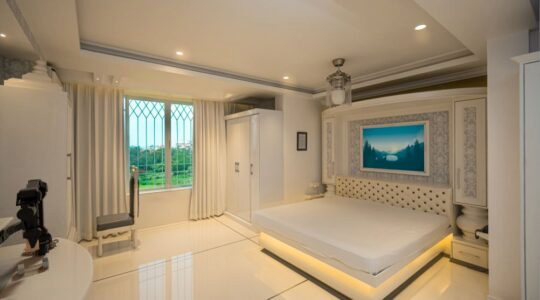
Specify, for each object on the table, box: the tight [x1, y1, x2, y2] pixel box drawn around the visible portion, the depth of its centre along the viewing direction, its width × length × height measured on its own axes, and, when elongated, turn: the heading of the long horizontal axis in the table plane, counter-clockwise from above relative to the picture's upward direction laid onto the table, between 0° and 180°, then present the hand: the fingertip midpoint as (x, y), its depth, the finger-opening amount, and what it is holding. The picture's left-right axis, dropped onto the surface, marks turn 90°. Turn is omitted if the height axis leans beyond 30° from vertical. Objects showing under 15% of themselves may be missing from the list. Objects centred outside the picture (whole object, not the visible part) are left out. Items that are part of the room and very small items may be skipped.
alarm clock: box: [23, 238, 60, 255], centre depth 144 cm, size 11×5×15 cm
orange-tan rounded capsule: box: [25, 239, 39, 253], centre depth 117 cm, size 4×4×6 cm
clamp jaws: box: [17, 256, 50, 278], centre depth 118 cm, size 6×10×4 cm, turn 137°
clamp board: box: [18, 262, 50, 280], centre depth 118 cm, size 12×10×1 cm
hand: (32, 246), depth 117 cm, fingers closed on orange-tan rounded capsule, 4 cm apart
